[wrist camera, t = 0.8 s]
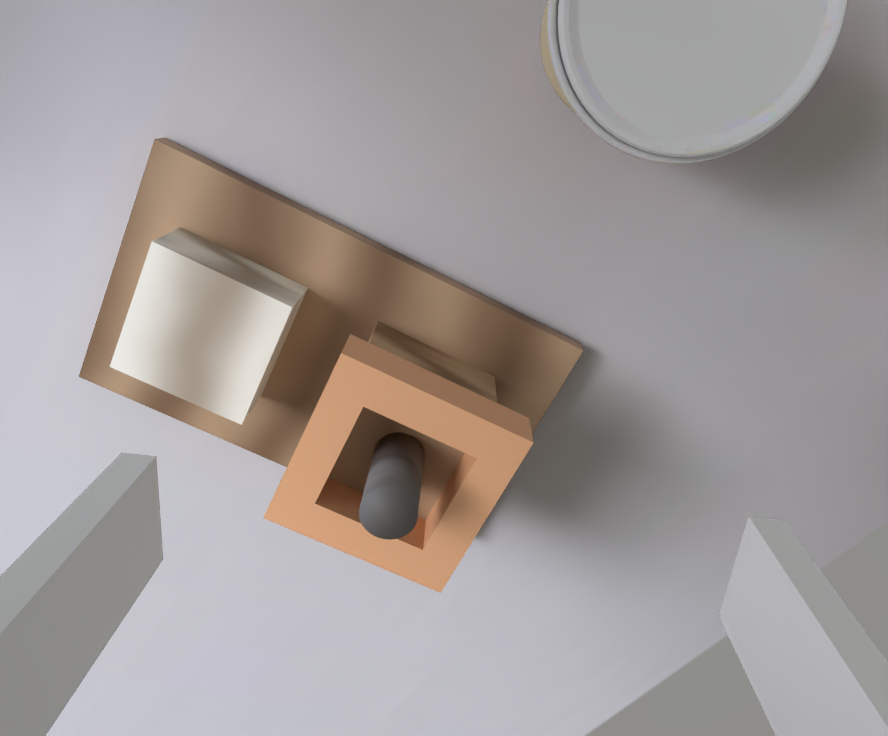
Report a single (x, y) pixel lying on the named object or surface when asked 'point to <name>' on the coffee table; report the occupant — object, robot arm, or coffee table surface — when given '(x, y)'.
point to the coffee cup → (686, 69)
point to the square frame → (425, 410)
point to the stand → (298, 330)
